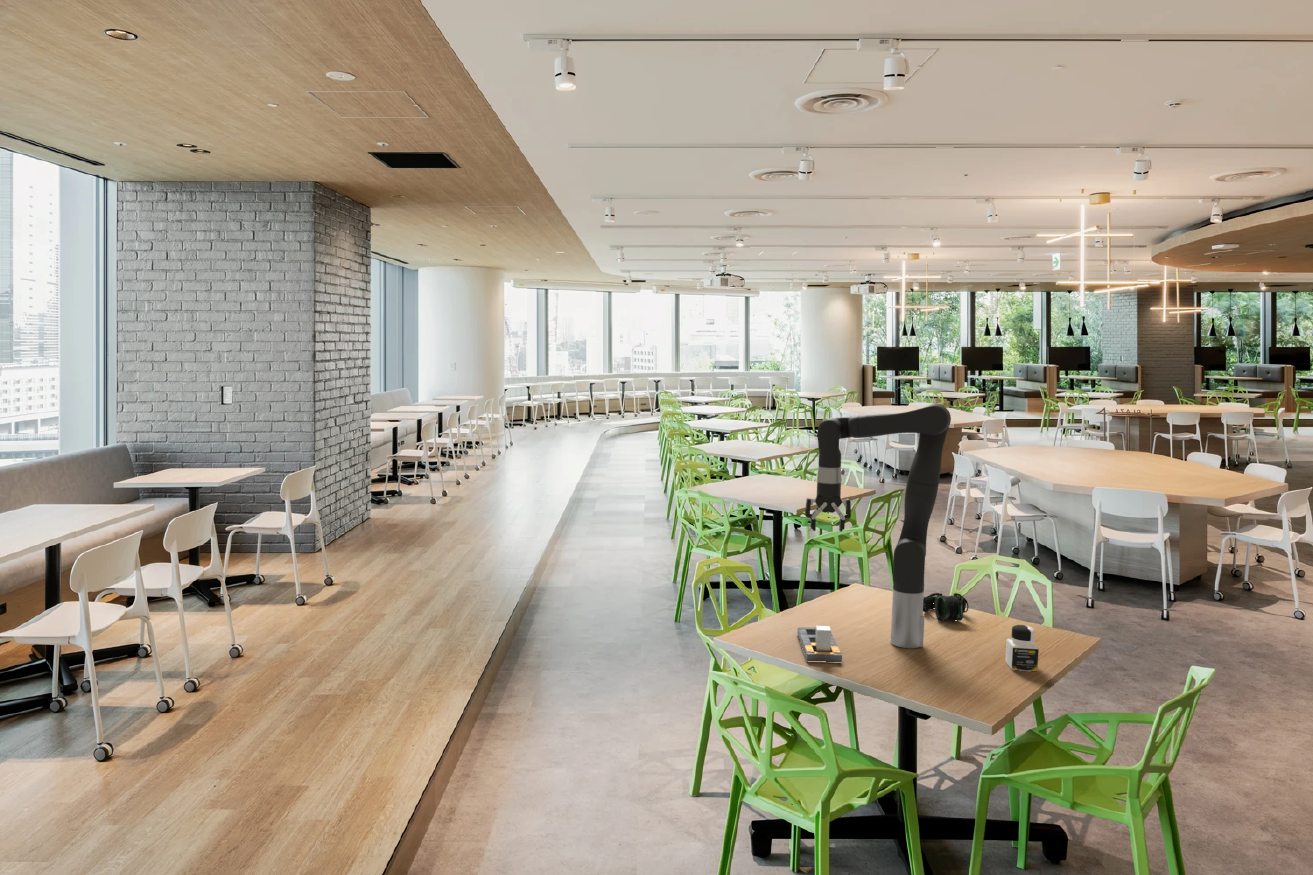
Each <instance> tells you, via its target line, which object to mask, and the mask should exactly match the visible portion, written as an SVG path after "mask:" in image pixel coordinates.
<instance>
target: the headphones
mask: <svg viewBox="0 0 1313 875" xmlns="http://www.w3.org/2000/svg"><path fill="white" fill-rule="evenodd" d="M933 603H934V604H933ZM969 607H970V606H969V602H968V600H967V599H966V598H965V597H964V596H963V595H962V594H961V593H957V592H955V593H953V595H949V596H947V595H943V593H942V592H941V593H939V592H933V593H930V594H929V595H927V596H924V599H923V613H926V614H927V615H928V616H929V617H930V618H932V619H934V618H935V617H933V615H931V614H930V613H929V611H931V610H930V609H933V608H935V609H933V610H934V615H935V616H936V619H938V620H937V621H939V620H940V621H943V622H946V621H948V620H952V621H953V622H955V620H957V622H959V621H962V620H963V616H964V613H967V612H968V611H969ZM940 621H939V622H940Z"/></svg>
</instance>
